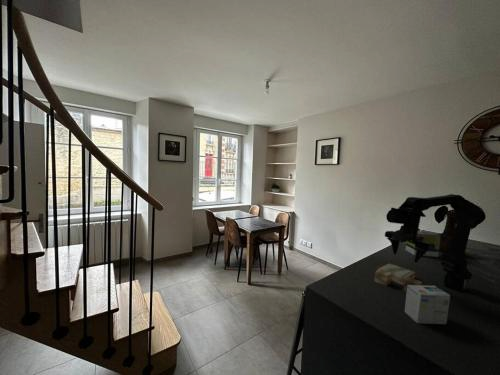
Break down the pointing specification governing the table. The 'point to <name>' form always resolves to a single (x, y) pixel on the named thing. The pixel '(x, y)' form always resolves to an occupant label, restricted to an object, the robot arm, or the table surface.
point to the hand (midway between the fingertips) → (404, 258)
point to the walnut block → (411, 282)
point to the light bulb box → (427, 304)
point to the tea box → (427, 237)
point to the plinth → (398, 273)
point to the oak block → (383, 277)
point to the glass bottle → (447, 233)
